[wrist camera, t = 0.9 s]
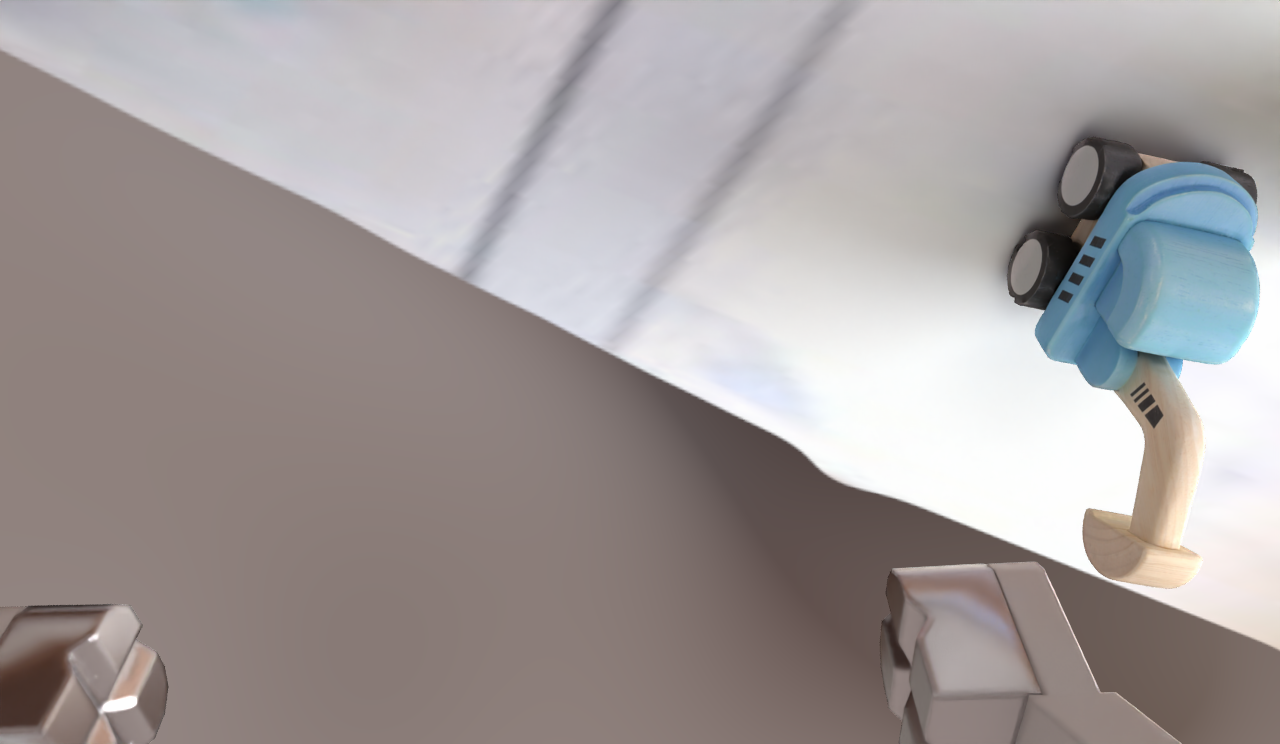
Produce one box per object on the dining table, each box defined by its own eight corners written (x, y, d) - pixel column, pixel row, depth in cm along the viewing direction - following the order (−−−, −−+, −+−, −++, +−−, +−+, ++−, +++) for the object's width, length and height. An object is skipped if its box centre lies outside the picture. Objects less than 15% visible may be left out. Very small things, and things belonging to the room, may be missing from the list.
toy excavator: (947, 369, 59) (1043, 591, 45) (1087, 107, 50) (1263, 288, 36) (1077, 396, 60) (1210, 621, 47) (1239, 145, 51) (1465, 334, 37)
